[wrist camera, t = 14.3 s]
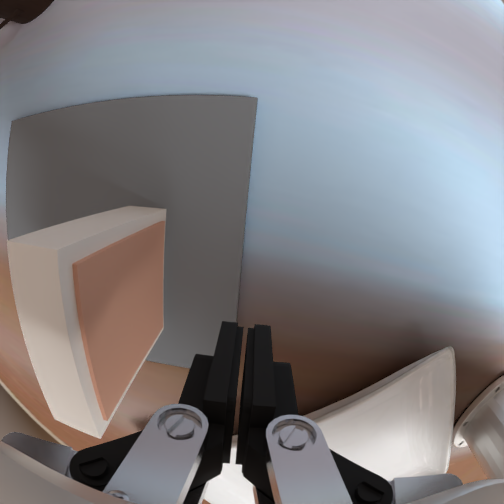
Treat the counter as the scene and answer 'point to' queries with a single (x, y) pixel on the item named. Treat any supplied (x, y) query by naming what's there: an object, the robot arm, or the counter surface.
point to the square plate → (378, 428)
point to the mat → (149, 193)
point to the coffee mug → (21, 10)
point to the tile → (90, 308)
